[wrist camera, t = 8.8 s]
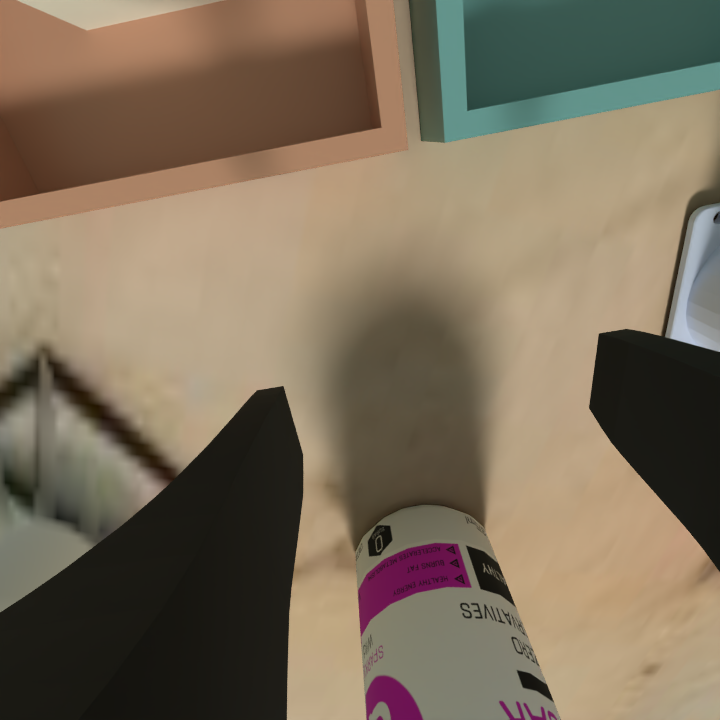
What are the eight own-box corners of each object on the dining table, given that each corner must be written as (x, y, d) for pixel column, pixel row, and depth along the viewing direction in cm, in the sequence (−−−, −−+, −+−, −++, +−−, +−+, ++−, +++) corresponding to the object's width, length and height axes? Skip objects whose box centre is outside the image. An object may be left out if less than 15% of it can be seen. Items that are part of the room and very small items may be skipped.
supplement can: (338, 576, 27) (349, 993, 14) (381, 485, 24) (452, 929, 10) (450, 593, 29) (555, 978, 16) (507, 510, 25) (704, 919, 12)
